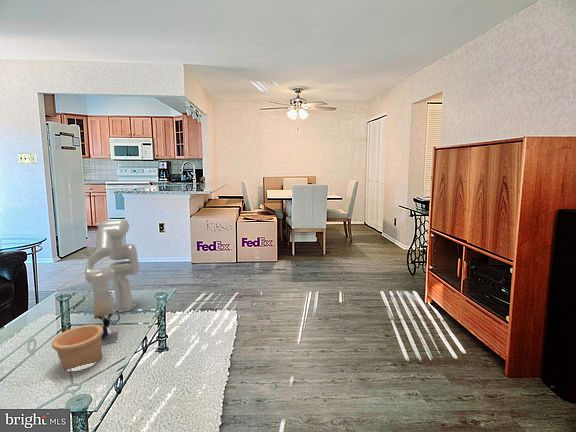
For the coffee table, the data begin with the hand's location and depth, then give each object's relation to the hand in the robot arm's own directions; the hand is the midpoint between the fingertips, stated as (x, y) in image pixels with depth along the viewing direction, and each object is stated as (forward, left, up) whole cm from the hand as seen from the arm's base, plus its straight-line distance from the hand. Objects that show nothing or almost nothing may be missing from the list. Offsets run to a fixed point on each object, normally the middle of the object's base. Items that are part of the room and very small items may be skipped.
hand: (107, 326), depth 197 cm
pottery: (+19, -10, -8) cm, 23 cm away
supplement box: (-2, -2, -4) cm, 5 cm away
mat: (0, -6, -8) cm, 10 cm away
